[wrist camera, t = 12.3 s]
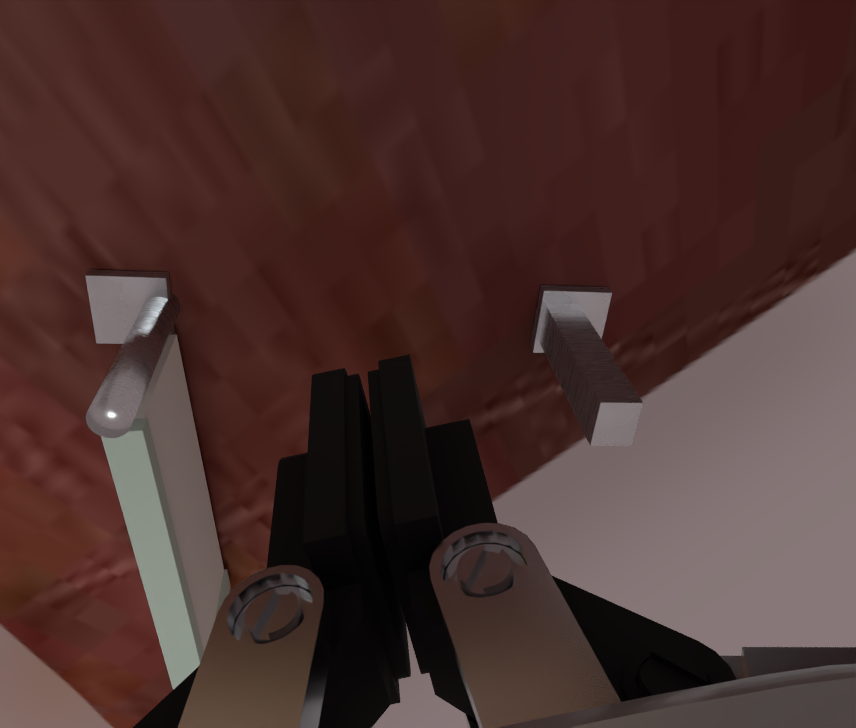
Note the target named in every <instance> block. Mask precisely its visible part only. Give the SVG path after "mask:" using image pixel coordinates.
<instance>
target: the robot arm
mask: <svg viewBox="0 0 856 728" xmlns="http://www.w3.org/2000/svg"><path fill="white" fill-rule="evenodd" d="M368 383H369V398H370V412H371V416H370V412H369V409H368V405H367V401H366V398H365V394H364V390H363V386H362V383H361V379H360V376H359V374H355V375H350V376H348V375H347V372H346V370H345V368H343V369H338V370H333V371H328V372H323V373H319V374H314V375H312V386H311V404H310V421H309V439H308V453H304V454H299V455H295V456H290V457H285V458H281V460H280V461H279V465H278V472H277V481H276V490H275V499H274V508H273V517H272V526H271V535H270V544H269V553H268V562H267V568H266V569H264V570H261V571H259V572H257V573H255V574H252V575H250V576H249V577H247V578H246V579H245V580H243V581H242V582H241V583H239V584H238V585H236V586H235V588H234V589H233V590H232V591H231V592H230V593H229V594H228V595H227V597H226V598H225V599H224V601H223V603H222V605H221V607H220V609H219V611H218V613H217V616H216V619H215V622H214V625H213V628H212V630H211V633H210V636H209V639H208V642H207V645H206V648H205V651H204V653H203V656H202V659H201V662H200V665H199V666H198V667H197V668H196V669H195V670H194V671H193V672H192V673H191V674H190V675H189V676H188V677H187V678H186V679H184V680H183V681H182V682H181V683H180V684H179V685H178V686H177V687H176V688H175V689H174V690H173V691H172V692H171V693H169V694H168V695H167V696H166V697H165V698H164V699H163V700H162V701H161V702H160V703H159V704H158V705H157V706H156V707H155V708H153V709H152V710H151V711H150V712H149V713H148V714H147V715H146V716H145V717H144V718H143V719H142V720H141V721H140V722H138V723H137V724H136V725H135V726H134V727H133V728H375V727H374V724H375V723H376V721H377V720H378V719H379V718H380V717H381V715H382V714H383V713H384V712H385V711H386V709H387V708H388V707H389V705H391V704H395V703H400V693H399V682H398V679H401V678H406V677H410V675H411V671H410V660H409V650H408V641H407V631H406V624H407V627H408V631H409V634H410V638H411V641H412V644H413V648H414V651H415V655H416V658H417V662H418V665H419V669H420V672H421V674H425V673H430V677H431V681H432V684H433V688H434V692H435V695H437V696H438V697H440V698H442V699H443V700H445V701H446V702H448V703H450V704H451V705H453V706H454V707H456V708H457V709H459V710H461V711H462V712H464V713H465V717H466V721H467V725H468V728H856V647H742V653H741V656H719V655H718V654H717V653H716V652H715V651H714V650H712V649H710V648H709V647H707V646H705V645H704V644H702V643H700V642H699V641H697V640H694V639H692V638H690V637H687V636H686V635H683V634H681V633H679V632H677V631H674V630H672V629H670V628H667V627H666V626H663V625H661V624H659V623H657V622H654V621H652V620H650V619H647V618H645V617H643V616H641V615H638V614H636V613H634V612H632V611H630V610H627V609H625V608H623V607H621V606H618V605H616V604H614V603H612V602H609V601H607V600H605V599H603V598H601V597H598V596H596V595H594V594H592V593H589V592H587V591H585V590H583V589H580V588H578V587H576V586H574V585H571V584H569V583H567V582H565V581H563V580H560V579H558V578H555V577H554V576H552V575H551V574H550V572H549V570H548V568H547V566H546V565H545V563H544V561H543V559H542V557H541V556H540V554H539V552H538V550H537V548H536V546H535V545H534V544H533V542H532V541H531V540H530V539H529V538H528V536H527V535H526V534H524V533H522V532H521V531H519V530H517V529H516V528H514V527H511V526H507V525H503V524H500V523H497V519H496V515H495V512H494V508H493V504H492V501H491V497H490V493H489V490H488V486H487V482H486V479H485V475H484V471H483V468H482V464H481V460H480V456H479V453H478V449H477V445H476V442H475V438H474V434H473V431H472V427H471V424H470V420H469V419H466V420H462V421H457V422H452V423H447V424H442V425H438V426H433V427H428V428H426V425H425V420H424V416H423V411H422V407H421V402H420V398H419V393H418V389H417V384H416V380H415V375H414V371H413V366H412V362H411V358H410V354H409V355H405V356H400V357H395V358H390V359H385V360H381V361H379V370H374V371H369V372H368Z"/></svg>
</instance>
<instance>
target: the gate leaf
mask: <svg viewBox="0 0 856 728" xmlns="http://www.w3.org/2000/svg"><path fill="white" fill-rule="evenodd" d="M101 438H102V441H103V445H104V448H105V452H106V455H107V459H108V462H109V466H110V469H111V473H112V476H113V480H114V483H115V487H116V490H117V494H118V498H119V501H120V505H121V508H122V512H123V515H124V519H125V522H126V526H127V529H128V533H129V536H130V540H131V543H132V547H133V550H134V554H135V557H136V561H137V564H138V568H139V571H140V575H141V578H142V582H143V585H144V589H145V592H146V596H147V599H148V603H149V606H150V610H151V613H152V617H153V620H154V624H155V627H156V631H157V635H158V638H159V642H160V645H161V649H162V652H163V656H164V659H165V663H166V666H167V670H168V673H169V677H170V680H171V684H172V687H173V690H174V689H175V688H176V687H177V686H178V685H179V684H180V683H181V682H182V681H183V680H184V679H186V678H187V677H188V676H189V675H190V674H191V673H192V672H193V671H194V670H195V669H196V668H197V667H198V666H199V665H200V662H201V659H202V656H203V653H204V651H205V648H206V645H207V642H208V639H209V636H210V633H211V630H212V628H213V625H214V622H215V619H216V616H217V613H218V611H219V609H220V607H221V605H222V603H223V601H224V599H225V598H226V597H227V595H228V594H229V592H230V582H229V577H228V572H227V569H226V570H224V567H223V562H222V557H221V552H220V547H219V542H218V537H217V532H216V527H215V522H214V517H213V513H212V508H211V503H210V498H209V493H208V488H207V483H206V478H205V473H204V468H203V463H202V458H201V453H200V448H199V443H198V438H197V433H196V428H195V423H194V418H193V413H192V408H191V403H190V399H189V394H188V389H187V384H186V379H185V374H184V369H183V364H182V359H181V354H180V349H179V344H178V339H177V334H176V335H169V337H168V339H167V342H166V344H165V346H164V349H163V351H162V353H161V356H160V358H159V361H158V363H157V365H156V368H155V370H154V373H153V375H152V377H151V380H150V382H149V385H148V387H147V389H146V392H145V394H144V396H143V399H142V401H141V404H140V406H139V408H138V411H137V413H136V416H135V418H134V420H133V423H132V425H131V427H130V430H129V431H128V432H127V433H126V434H125V435H123V436H121V437H118V438H105V437H102V436H101Z"/></svg>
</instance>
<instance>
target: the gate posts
mask: <svg viewBox="0 0 856 728" xmlns="http://www.w3.org/2000/svg"><path fill="white" fill-rule="evenodd" d="M85 276H86V282H87V288H88V294H89V300H90V306H91V312H92V319H93V325H94V331H95V337H96V343H108V344H122V346H121V348H120V350H119V352H118V354H117V356H116V358H115V360H114V362H113V364H112V366H111V367H110V369H109V371H108V373H107V375H106V377H105V379H104V381H103V383H102V385H101V387H100V388H99V390H98V392H97V394H96V396H95V398H94V400H93V402H92V404H91V406H90V408H89V410H88V411H87V414H86V423H87V425H88V427H89V428H90V429H91V430H92V431H93V432H94V433H96V434H97V435H99V436H102V437H105V438H118V437H121V436H123V435H125V434H126V433H127V432H128V431H129V430H130V427H131V425H132V423H133V420H134V418H135V416H136V413H137V411H138V408H139V406H140V404H141V401H142V399H143V396H144V394H145V392H146V389H147V387H148V385H149V382H150V380H151V377H152V375H153V373H154V370H155V368H156V365H157V363H158V361H159V358H160V356H161V353H162V351H163V349H164V346H165V344H166V342H167V339H168V337H169V335H175V329H174V322H175V320H176V318H177V315H178V313H179V310H180V305H179V302H178V300H177V298H176V297H175V296H174V295H172V294H171V289H170V279H169V272H150V271H121V270H92V269H90V270H89V271H88V273H87V274H86V275H85ZM611 295H612V292H611V291H610V290H609V288H608V287H589V286H560V285H541V286H540V292H539V297H538V303H537V309H536V314H535V320H534V326H533V332H532V337H531V343H530V347H531V349H532V351H533V353H545V355H546V357H547V359H548V361H549V363H550V365H551V367H552V369H553V371H554V373H555V375H556V377H557V379H558V381H559V383H560V385H561V387H562V389H563V391H564V393H565V395H566V397H567V399H568V401H569V404H570V406H571V408H572V410H573V412H574V414H575V416H576V418H577V420H578V422H579V424H580V426H581V428H582V430H583V432H584V434H585V436H586V438H587V440H588V442H589V444H590V446H631V445H632V441H633V437H634V434H635V431H636V427H637V423H638V420H639V416H640V412H641V409H642V405H643V402H642V401H641V399H640V397H639V396H638V394H637V393H636V391H635V390H634V388H633V387H632V385H631V384H630V382H629V381H628V379H627V378H626V376H625V374H624V373H623V371H622V370H621V368H620V367H619V365H618V364H617V362H616V361H615V359H614V358H613V356H612V354H611V353H610V351H609V350H608V348H607V347H606V345H605V344H604V342H603V341H602V334H603V330H604V326H605V321H606V317H607V313H608V308H609V304H610V300H611Z"/></svg>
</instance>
